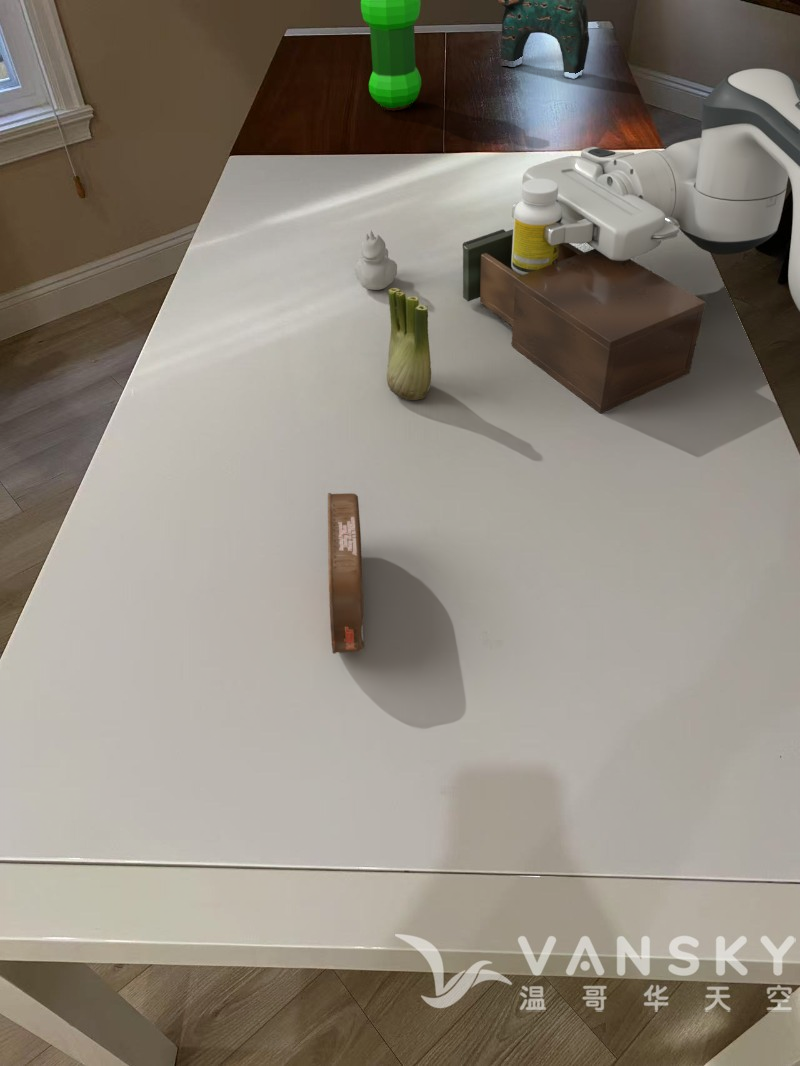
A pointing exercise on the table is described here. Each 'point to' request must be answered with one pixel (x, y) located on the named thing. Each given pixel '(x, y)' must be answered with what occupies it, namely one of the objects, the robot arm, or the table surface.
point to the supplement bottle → (535, 226)
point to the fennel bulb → (408, 347)
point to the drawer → (496, 271)
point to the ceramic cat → (546, 28)
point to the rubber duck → (375, 264)
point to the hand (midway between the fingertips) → (530, 224)
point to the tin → (345, 573)
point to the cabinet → (605, 327)
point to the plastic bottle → (393, 51)
